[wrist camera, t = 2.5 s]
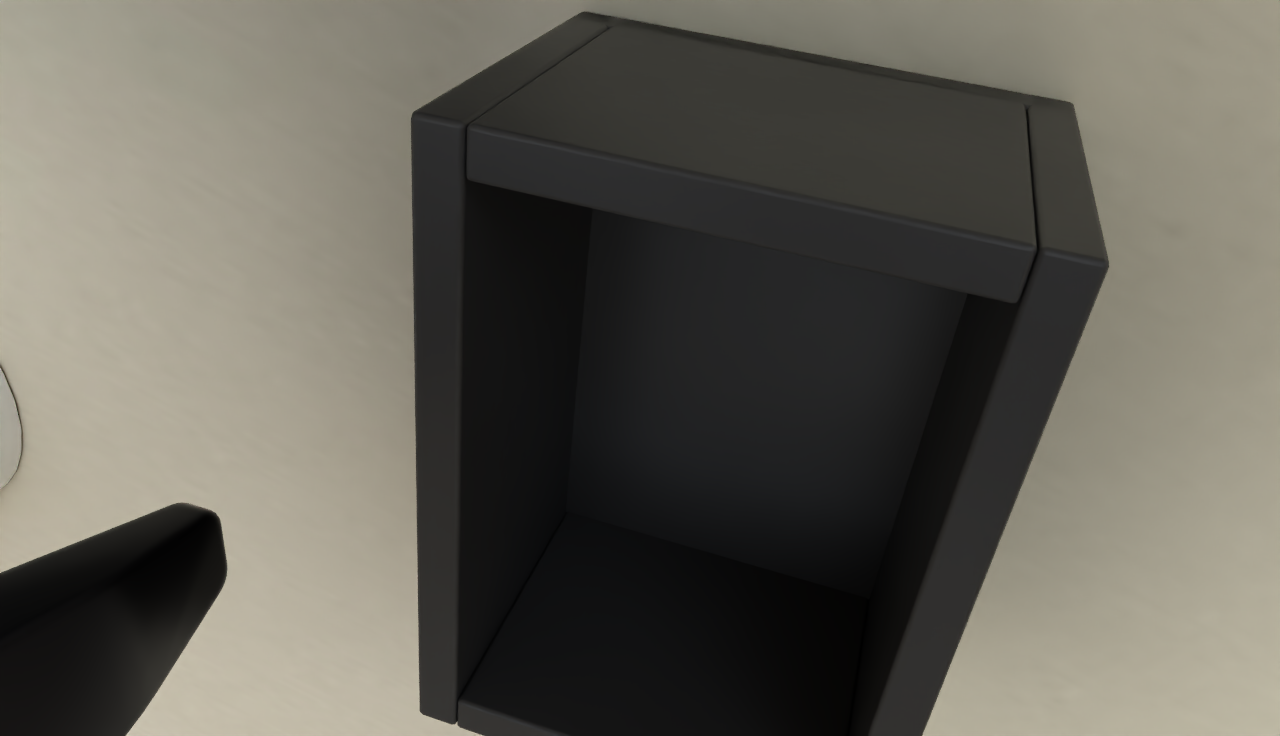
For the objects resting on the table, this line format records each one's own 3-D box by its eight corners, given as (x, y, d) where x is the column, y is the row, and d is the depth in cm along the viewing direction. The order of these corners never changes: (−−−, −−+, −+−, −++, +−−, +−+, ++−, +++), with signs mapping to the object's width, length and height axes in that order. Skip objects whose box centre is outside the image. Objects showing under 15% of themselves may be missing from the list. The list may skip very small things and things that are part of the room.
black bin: (1074, 102, 13) (1113, 263, 9) (899, 610, 18) (870, 868, 13) (580, 10, 14) (407, 111, 10) (544, 507, 19) (418, 715, 15)
